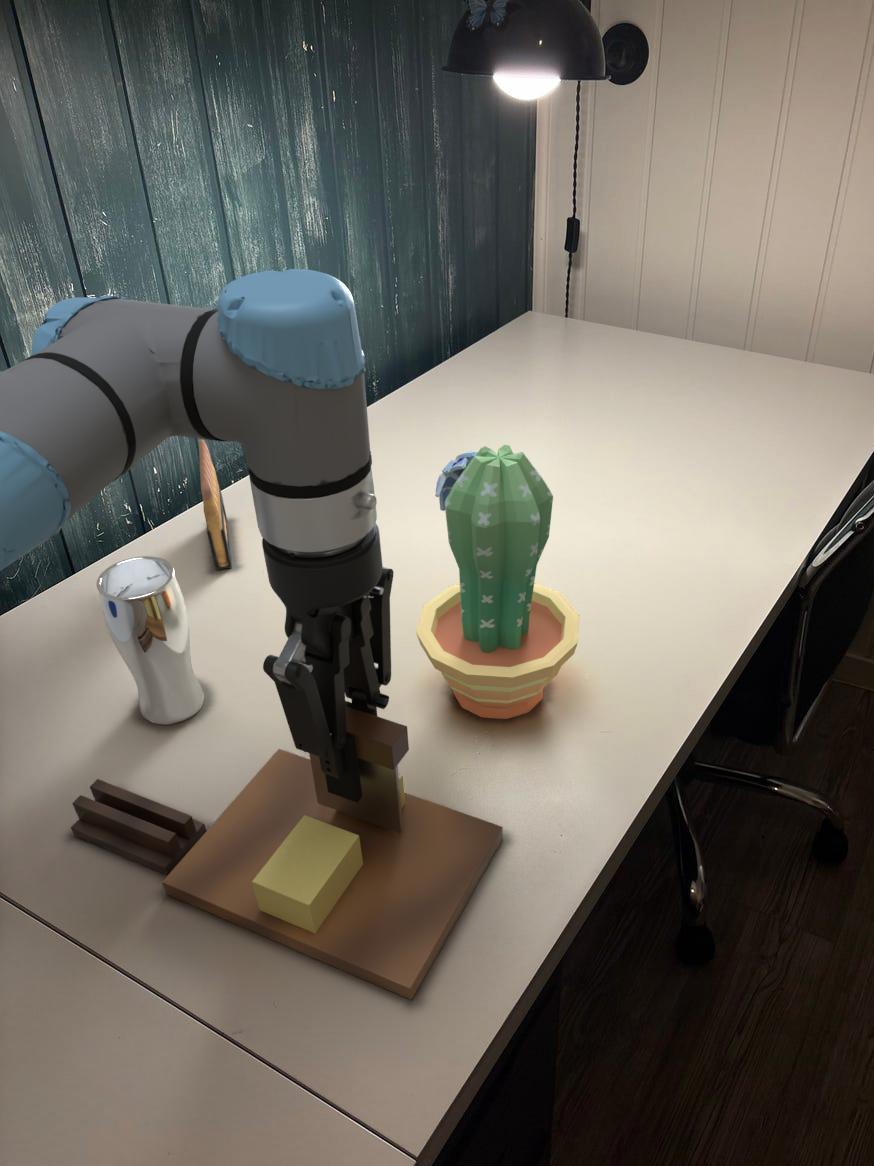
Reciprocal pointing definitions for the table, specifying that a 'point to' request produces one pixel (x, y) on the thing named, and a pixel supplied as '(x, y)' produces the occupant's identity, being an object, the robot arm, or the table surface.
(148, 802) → the knife holder
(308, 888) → the butter
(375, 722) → the cleaver
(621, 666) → the table surface
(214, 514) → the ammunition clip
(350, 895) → the board
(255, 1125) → the table surface
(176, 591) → the beer glass
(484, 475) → the potted cactus
